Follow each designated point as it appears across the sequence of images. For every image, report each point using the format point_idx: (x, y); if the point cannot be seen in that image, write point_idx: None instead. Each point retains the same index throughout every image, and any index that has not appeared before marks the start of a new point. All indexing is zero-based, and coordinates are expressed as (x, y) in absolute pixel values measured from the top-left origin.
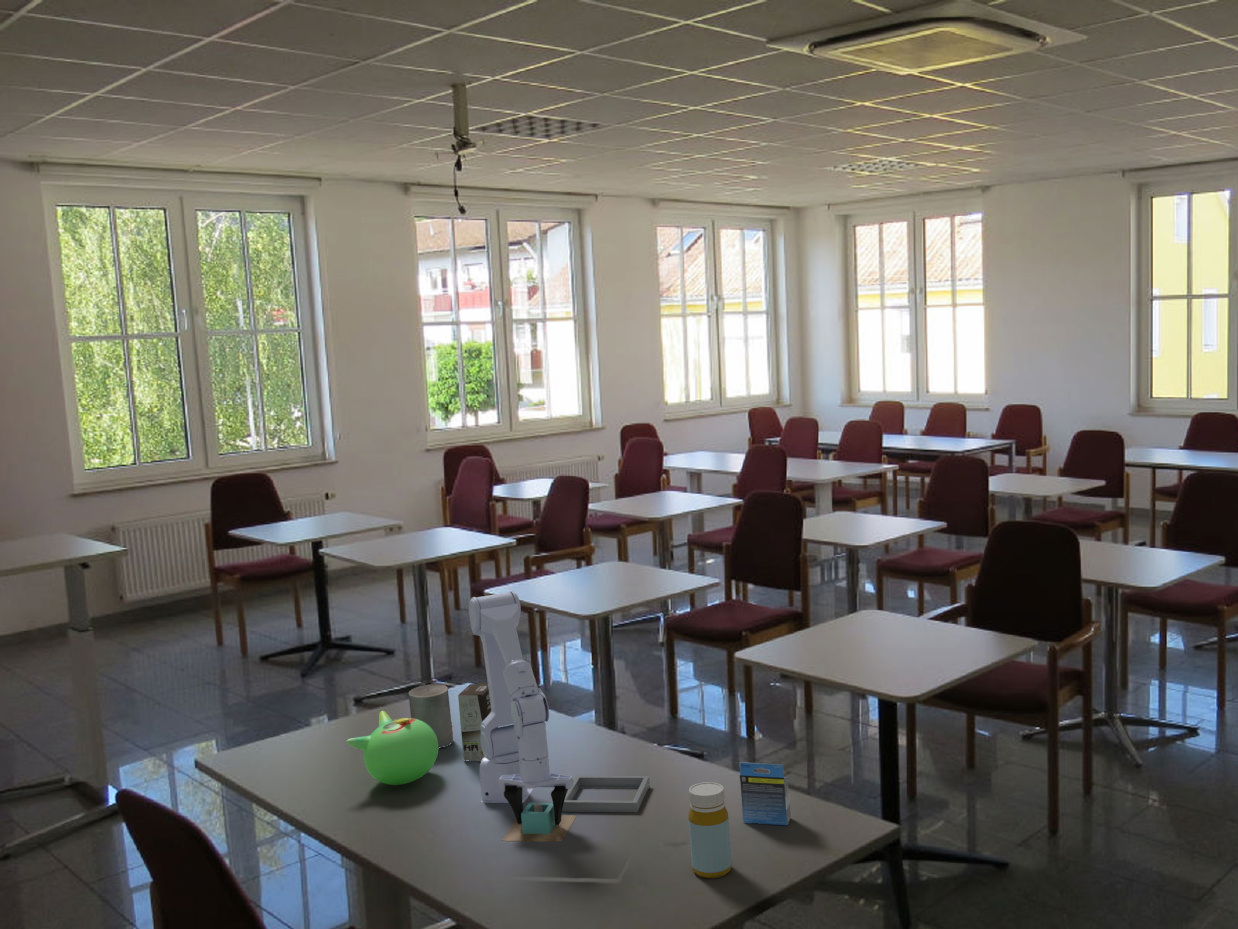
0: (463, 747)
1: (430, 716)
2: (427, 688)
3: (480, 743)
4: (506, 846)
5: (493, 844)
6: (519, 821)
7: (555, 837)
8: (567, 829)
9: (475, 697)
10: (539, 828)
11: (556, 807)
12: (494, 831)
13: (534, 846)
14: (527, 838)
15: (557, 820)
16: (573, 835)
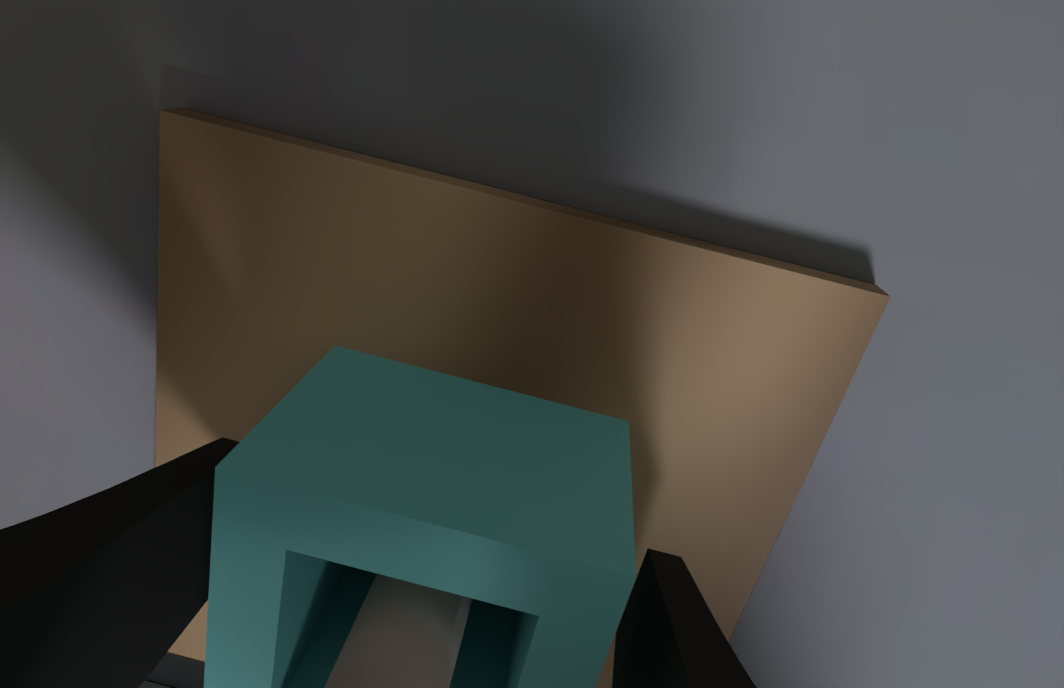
0: None
1: None
2: None
3: None
4: (825, 207)
5: (976, 294)
6: (663, 570)
7: (252, 243)
8: (166, 405)
9: None
10: (423, 400)
11: (37, 546)
12: (920, 583)
13: (490, 136)
14: (571, 286)
15: (189, 456)
16: (117, 320)
